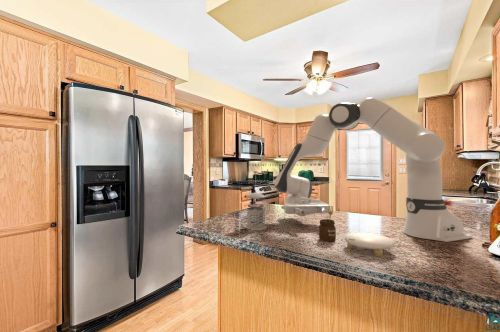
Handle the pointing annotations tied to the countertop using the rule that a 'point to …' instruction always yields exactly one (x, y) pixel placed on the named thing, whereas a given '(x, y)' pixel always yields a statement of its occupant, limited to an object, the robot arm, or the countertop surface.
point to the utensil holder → (327, 228)
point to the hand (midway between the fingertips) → (313, 211)
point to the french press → (256, 212)
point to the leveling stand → (368, 242)
